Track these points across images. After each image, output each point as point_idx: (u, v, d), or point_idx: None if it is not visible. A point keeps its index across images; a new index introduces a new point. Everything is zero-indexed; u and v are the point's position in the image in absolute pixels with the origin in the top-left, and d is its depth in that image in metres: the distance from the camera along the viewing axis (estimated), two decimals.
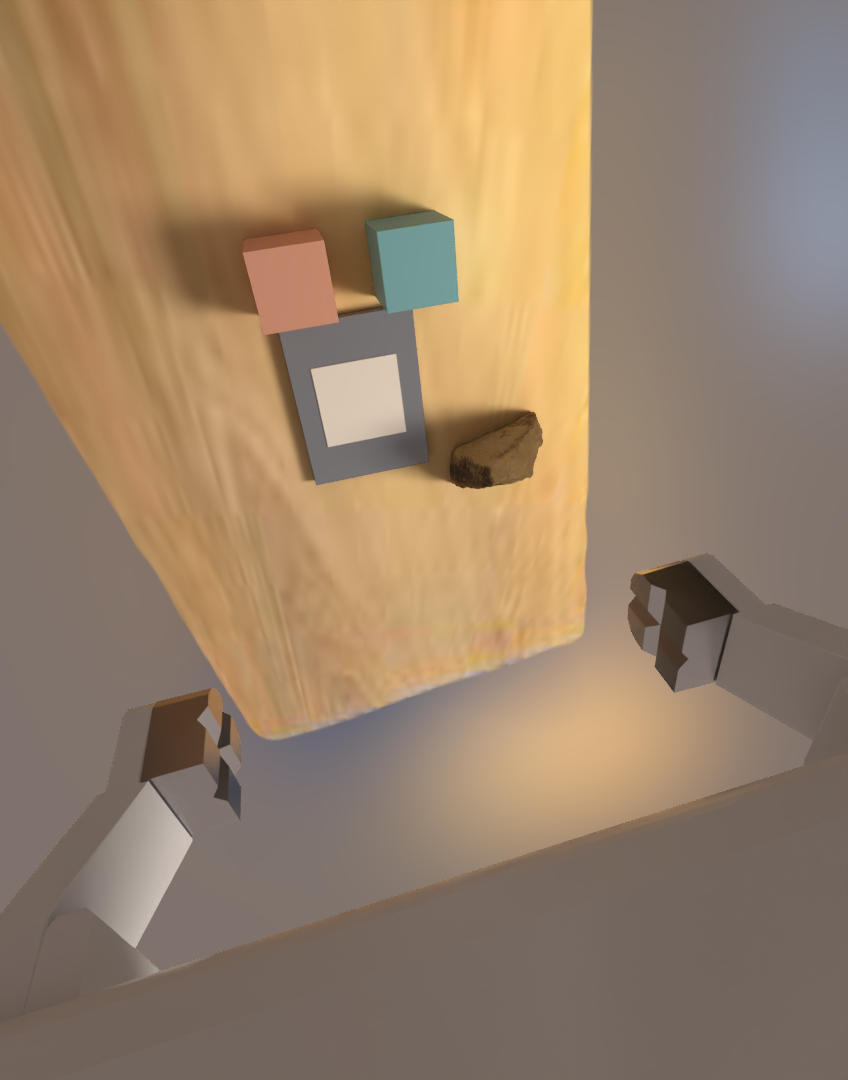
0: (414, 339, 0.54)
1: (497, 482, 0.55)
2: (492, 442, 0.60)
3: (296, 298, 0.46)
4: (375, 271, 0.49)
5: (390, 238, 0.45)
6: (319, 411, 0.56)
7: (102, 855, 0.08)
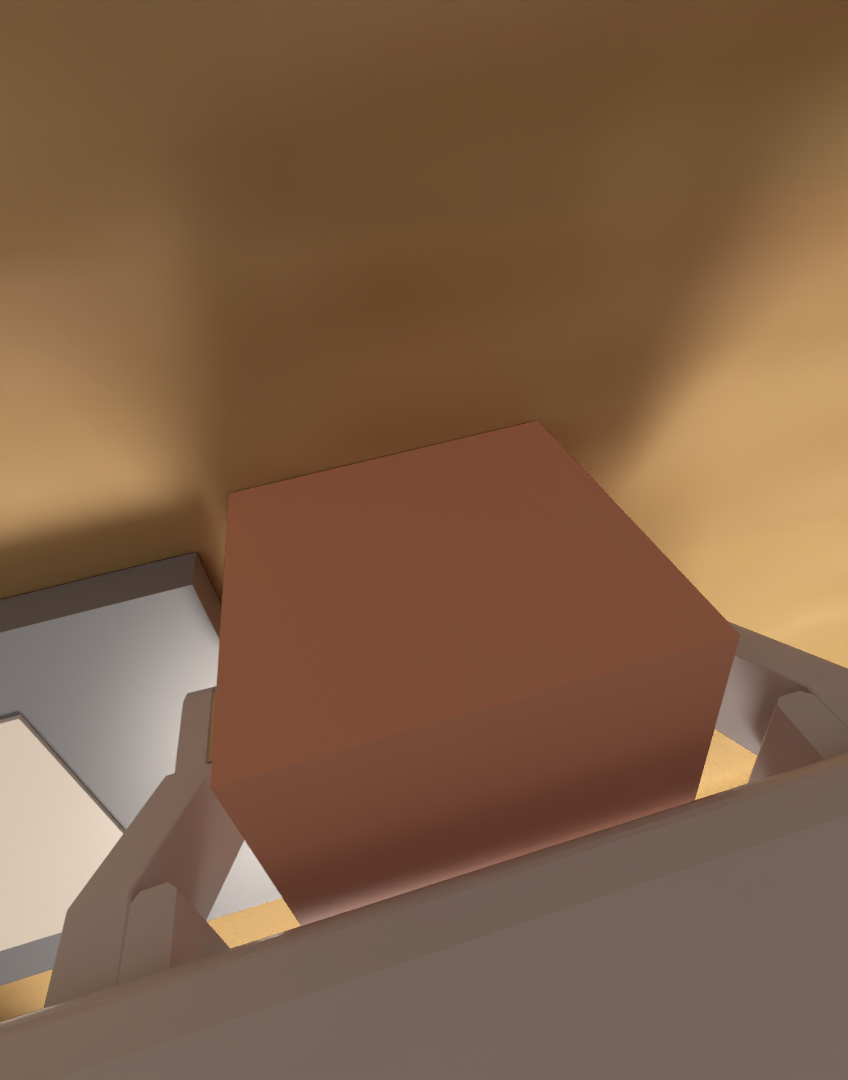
0: (237, 909, 0.17)
1: None
2: None
3: (455, 859, 0.08)
4: None
5: None
6: None
7: (176, 833, 0.08)
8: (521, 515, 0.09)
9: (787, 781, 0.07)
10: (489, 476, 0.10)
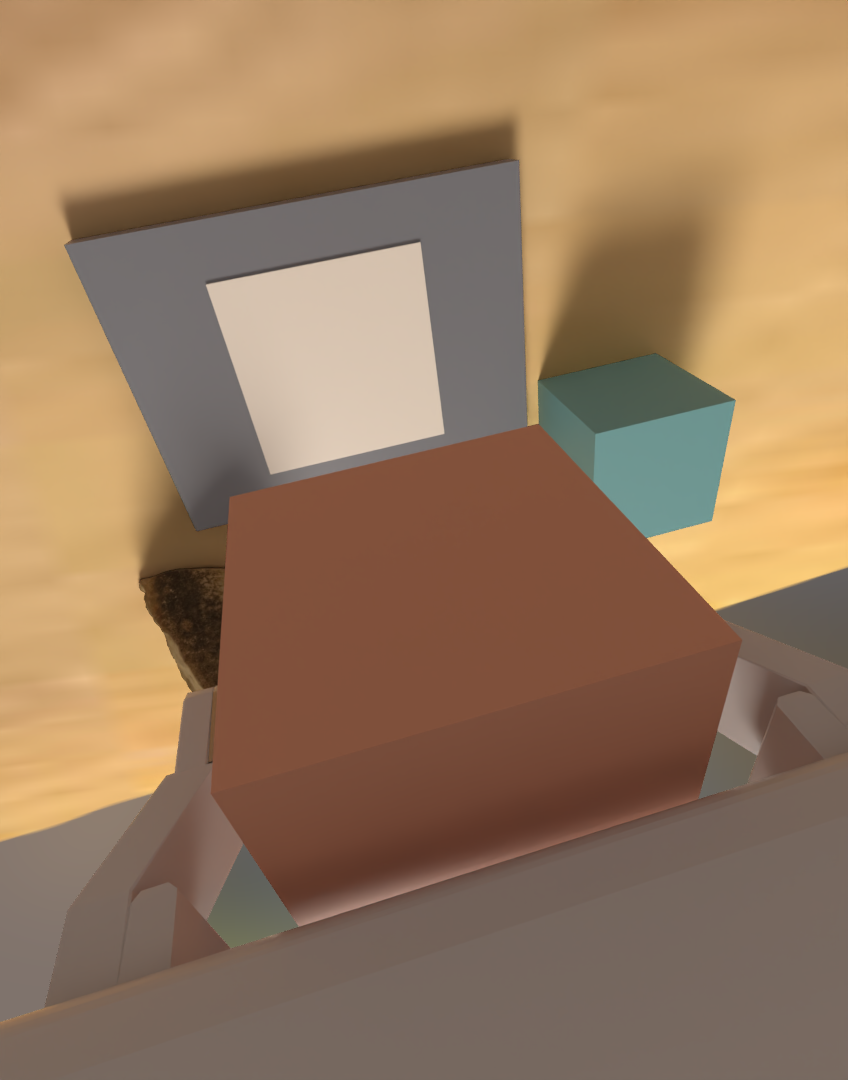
0: None
1: None
2: None
3: (457, 865, 0.08)
4: (611, 386, 0.26)
5: (718, 425, 0.24)
6: (310, 262, 0.22)
7: (177, 833, 0.08)
8: (522, 519, 0.09)
9: (787, 781, 0.07)
10: (490, 480, 0.10)
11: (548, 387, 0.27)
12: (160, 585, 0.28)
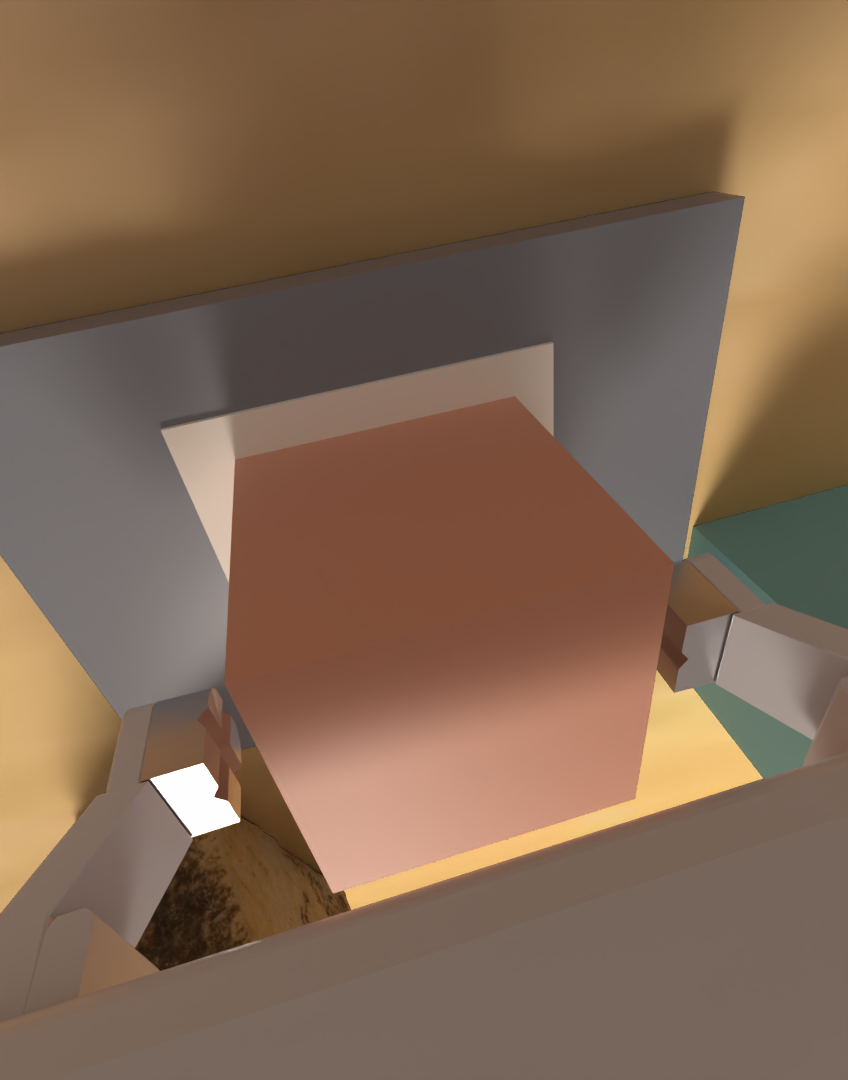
0: None
1: None
2: (288, 917, 0.19)
3: (435, 771, 0.09)
4: (826, 549, 0.16)
5: None
6: (354, 383, 0.12)
7: (102, 855, 0.08)
8: (495, 473, 0.10)
9: (787, 781, 0.07)
10: (469, 442, 0.11)
11: (716, 543, 0.17)
12: None
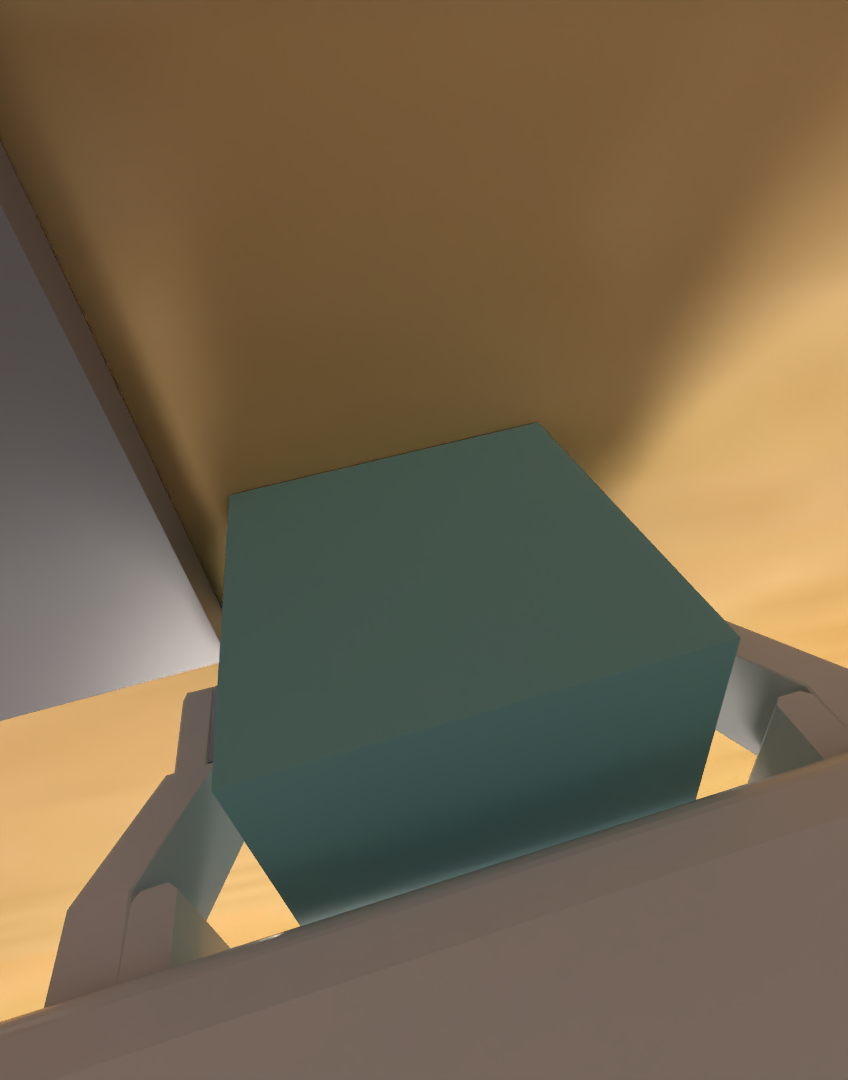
0: (68, 698, 0.11)
1: None
2: None
3: None
4: (385, 534, 0.09)
5: (682, 705, 0.07)
6: None
7: (176, 833, 0.08)
8: None
9: (787, 781, 0.07)
10: None
11: (234, 524, 0.10)
12: None
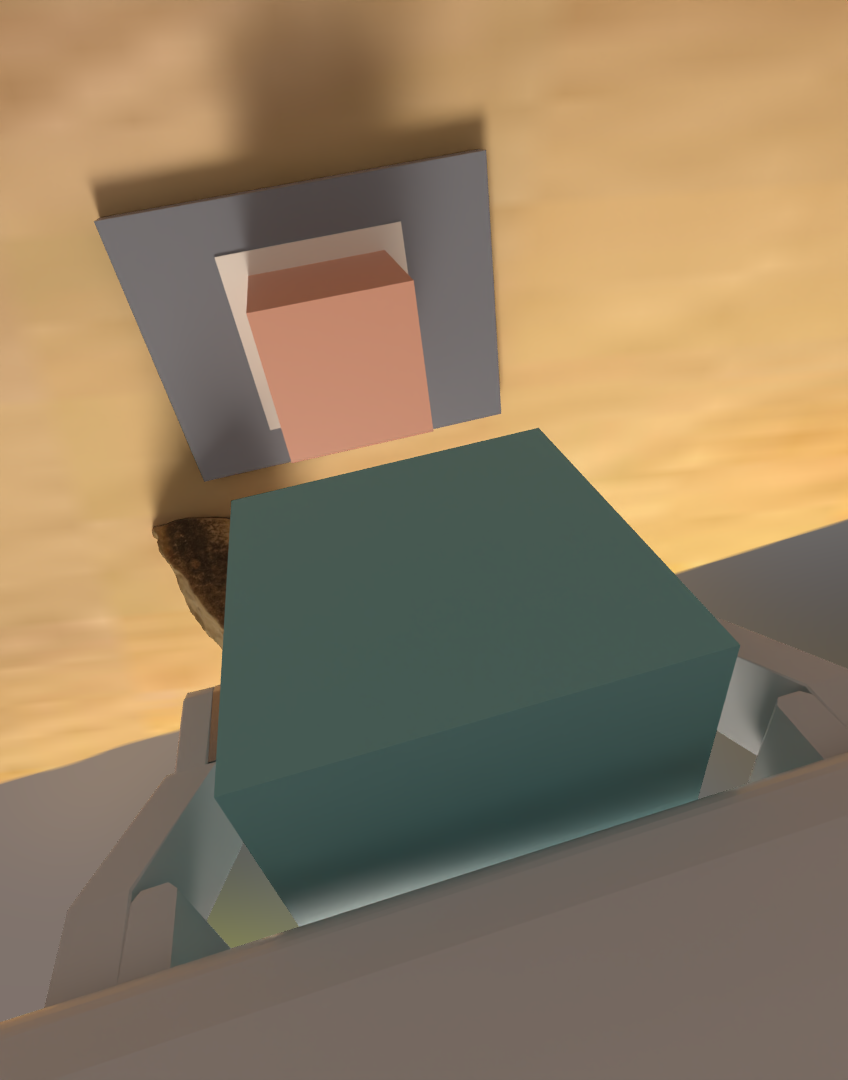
0: (446, 424, 0.31)
1: None
2: None
3: (331, 384, 0.23)
4: (387, 540, 0.09)
5: (682, 711, 0.07)
6: (304, 238, 0.25)
7: (177, 833, 0.08)
8: (362, 269, 0.23)
9: (787, 781, 0.07)
10: (356, 263, 0.24)
11: (236, 530, 0.10)
12: (171, 531, 0.31)
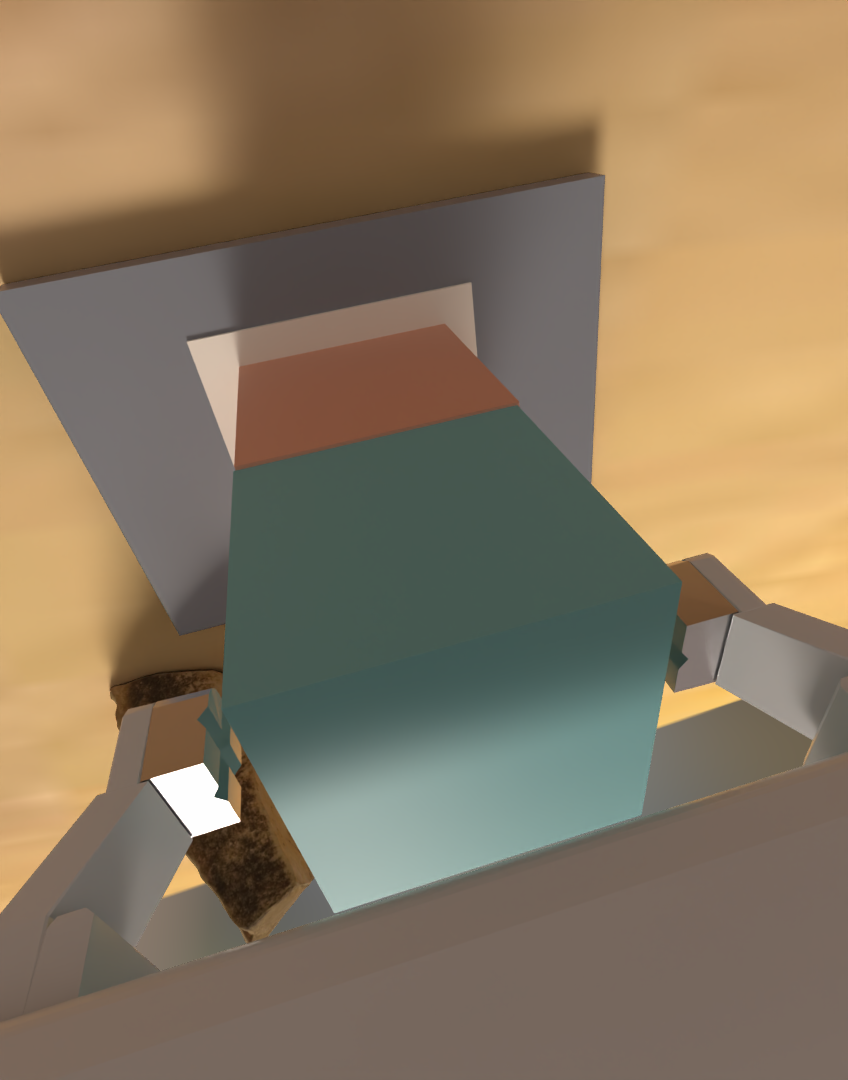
0: None
1: (253, 930, 0.18)
2: None
3: None
4: (375, 502, 0.10)
5: (634, 644, 0.08)
6: (325, 310, 0.16)
7: (102, 855, 0.08)
8: (420, 365, 0.15)
9: (787, 781, 0.07)
10: (406, 350, 0.16)
11: (238, 496, 0.11)
12: (136, 697, 0.23)
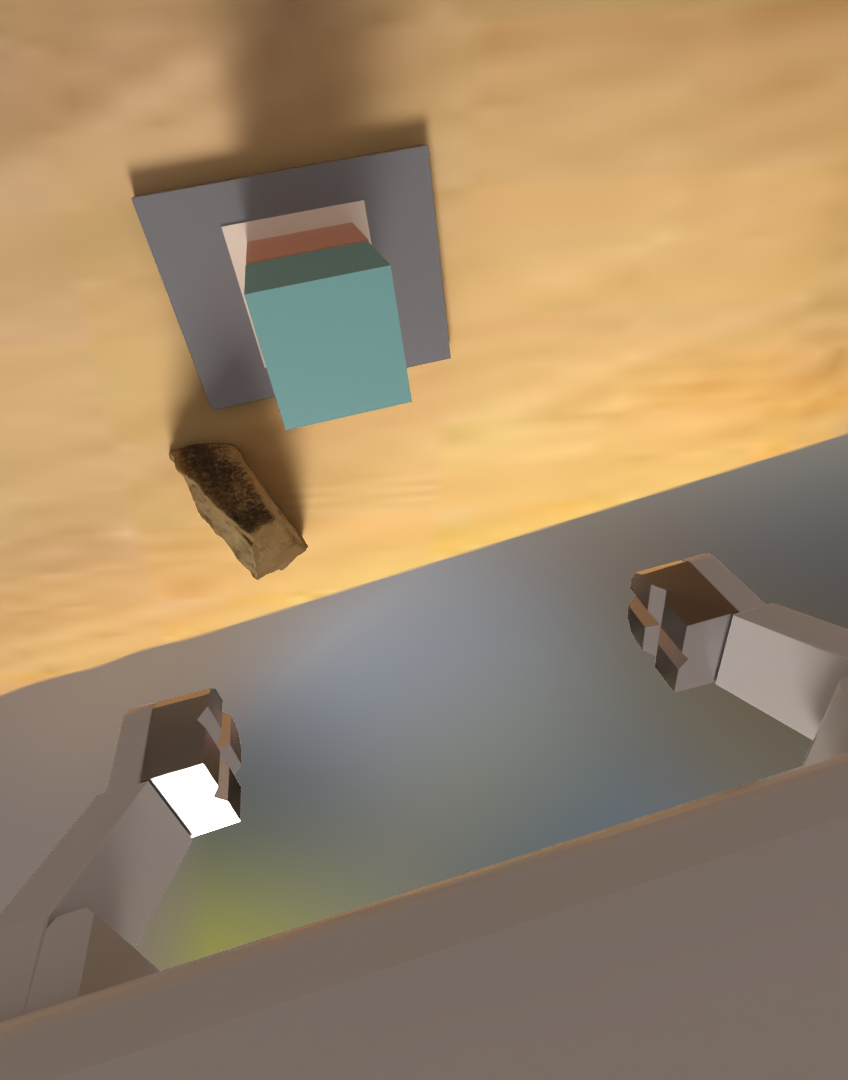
0: (406, 366, 0.39)
1: (253, 538, 0.34)
2: None
3: None
4: (300, 264, 0.27)
5: (380, 293, 0.25)
6: (290, 212, 0.33)
7: (102, 855, 0.08)
8: (333, 234, 0.31)
9: (787, 781, 0.07)
10: (328, 231, 0.32)
11: (248, 268, 0.27)
12: (185, 453, 0.39)
